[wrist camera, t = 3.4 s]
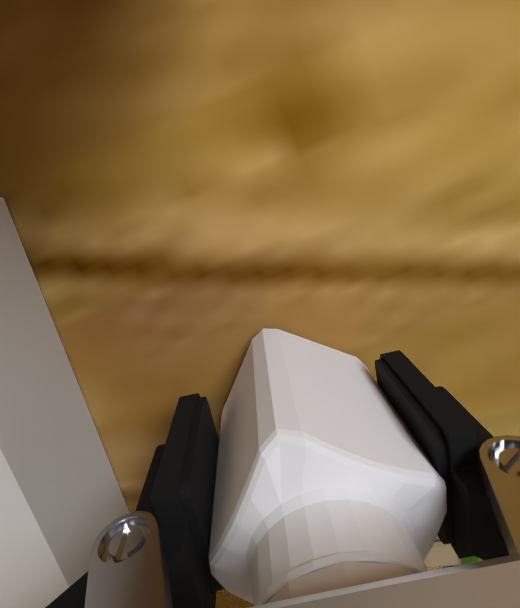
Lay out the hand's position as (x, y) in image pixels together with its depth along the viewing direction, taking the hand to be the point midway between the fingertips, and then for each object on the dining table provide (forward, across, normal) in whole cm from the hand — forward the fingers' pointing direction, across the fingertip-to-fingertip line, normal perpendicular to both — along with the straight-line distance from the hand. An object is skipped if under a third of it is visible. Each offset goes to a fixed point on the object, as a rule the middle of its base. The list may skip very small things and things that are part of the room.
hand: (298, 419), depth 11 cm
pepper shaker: (+2, 0, 0) cm, 2 cm away
